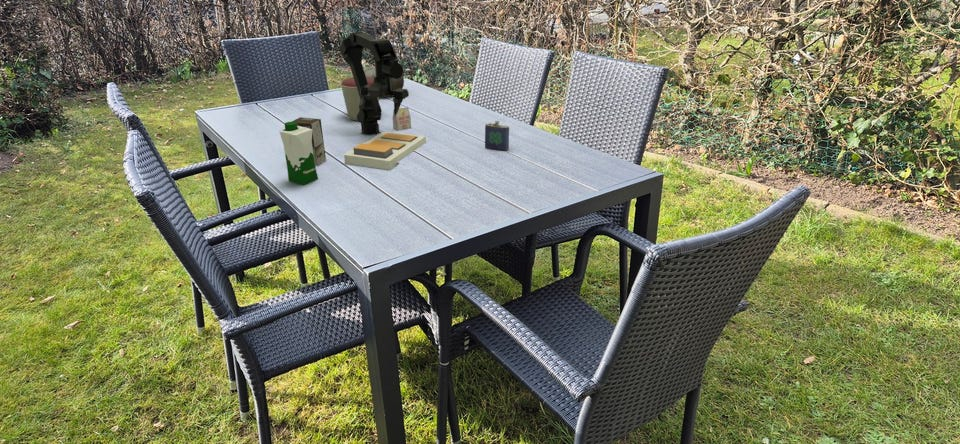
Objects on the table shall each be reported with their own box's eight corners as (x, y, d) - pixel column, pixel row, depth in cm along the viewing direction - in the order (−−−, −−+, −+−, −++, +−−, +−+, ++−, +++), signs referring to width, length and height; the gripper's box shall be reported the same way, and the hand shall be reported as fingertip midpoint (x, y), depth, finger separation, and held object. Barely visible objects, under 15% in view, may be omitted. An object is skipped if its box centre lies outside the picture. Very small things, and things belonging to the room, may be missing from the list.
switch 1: (354, 154, 214) (353, 147, 212) (362, 149, 218) (361, 142, 217) (385, 158, 209) (384, 151, 208) (392, 153, 214) (392, 146, 213)
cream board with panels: (335, 162, 215) (334, 153, 214) (376, 138, 240) (375, 130, 239) (390, 169, 208) (389, 161, 207) (426, 144, 233) (425, 136, 232)
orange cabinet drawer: (381, 143, 231) (380, 136, 230) (388, 139, 236) (387, 132, 235) (410, 147, 227) (410, 140, 226) (416, 142, 232) (416, 136, 231)
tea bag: (393, 131, 249) (391, 108, 245) (407, 128, 253) (406, 106, 248) (397, 133, 247) (395, 110, 242) (411, 130, 250) (410, 108, 245)
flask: (509, 149, 228) (510, 121, 223) (507, 151, 225) (507, 123, 220) (486, 146, 231) (486, 118, 226) (483, 148, 229) (483, 120, 223)
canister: (391, 116, 270) (387, 70, 260) (364, 126, 256) (360, 78, 246) (362, 110, 278) (358, 66, 269) (335, 119, 265) (329, 73, 255)
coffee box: (327, 160, 217) (321, 118, 210) (317, 166, 212) (311, 123, 204) (306, 157, 220) (300, 116, 212) (296, 163, 214) (289, 121, 207)
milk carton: (304, 173, 205) (295, 118, 196) (322, 178, 201) (314, 122, 192) (284, 181, 198) (275, 125, 190) (303, 187, 194) (294, 129, 185)
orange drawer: (368, 150, 223) (367, 144, 222) (376, 146, 228) (375, 139, 226) (398, 154, 219) (397, 148, 217) (405, 150, 223) (405, 143, 222)
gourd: (348, 94, 295) (350, 59, 290) (365, 91, 319) (367, 58, 314) (394, 101, 293) (397, 66, 287) (408, 97, 316) (411, 65, 311)
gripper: (350, 75, 218) (354, 115, 225) (393, 80, 212) (396, 121, 219) (366, 69, 227) (369, 108, 235) (408, 74, 221) (410, 114, 228)
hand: (385, 113), depth 229 cm, fingers open, 9 cm apart
